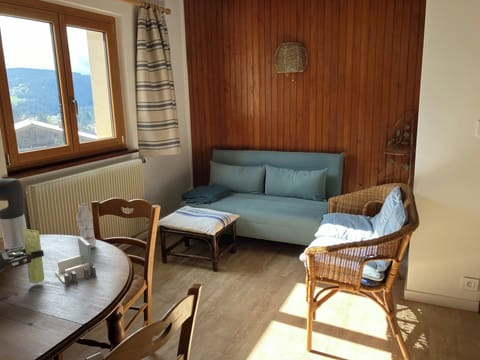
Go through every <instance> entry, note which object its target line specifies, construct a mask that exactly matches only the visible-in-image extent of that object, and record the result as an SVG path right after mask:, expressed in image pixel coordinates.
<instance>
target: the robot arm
mask: <svg viewBox="0 0 480 360" xmlns="http://www.w3.org/2000/svg"><path fill="white" fill-rule="evenodd" d="M23 189H24V188H23V185H22V182H21V181H20V180H19V179H18V178H0V202H5V201H6V202H7V206H6V207H4V208H2V209H0V228H1V229H0V230H1V235H2V239H3V247H4V252H2V251H1V249H0V272H3V271H5V266H11V268H13V269H14V268H17V267H21V266H24V265H27V263H30V262H31V260H32V259H34V258H38V257H42V258H43V257H44V255H45V253H44V250H43V249H41V250H39V251H35V252H31V253H26V250H25V242H24V233H23V228H25V229H28V228H27V221H26V217H25V212H24V211H25V199H24V190H23ZM26 258H27V259H26Z"/></svg>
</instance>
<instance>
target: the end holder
mask: <svg viewBox="0 0 480 360" xmlns="http://www.w3.org/2000/svg"><path fill="white" fill-rule="evenodd" d="M77 242H78V243H77V244H78V251H79V255H75V256H72V257H69V258H65V259H64V258H63V259H62V260H57V268H58V270H56V271H54V274H55V275H56V276H57V277H58V279H59V280H60V281H61V282H62V284H63V285H64V284H65V281H64V274H65V273H67V274H68V276H69V281H71V280H72V275H71V272H72V271H74V272H75V273H76V277H77V280H78V279H82V278H85V277H84V270H83V268H85V267H86V268H87V269H88V271H89V275H90V274H91V267H90V266H92V265H93V266H94V264H93V262H94V261H93V255H92V248H91V246H90V244H89V243H88V242H87V241H86V240H84V239H83V238H82V237H81V236H77Z"/></svg>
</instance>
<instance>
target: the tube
mask: <svg viewBox="0 0 480 360" xmlns="http://www.w3.org/2000/svg"><path fill="white" fill-rule="evenodd" d="M23 233H24V242H25V250H26V253H31V252H35V251H39V250H42V247H41V246H42V245H41V239H40V238H41V237H40V231H39V230H35V229H28V228H27V229H25V228H23ZM25 259H27V258H25ZM26 267H27V274H28V282H29V283H30V284H39V283H42V282H43V281H44V280H45V272H44V263H43V256H42V257H38V258H34V259H32V260H31V262H30V263H27V264H26Z"/></svg>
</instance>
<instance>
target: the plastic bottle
mask: <svg viewBox="0 0 480 360" xmlns="http://www.w3.org/2000/svg"><path fill="white" fill-rule="evenodd" d="M78 210H79V211H78V212H77V214H76V221H77V224H78V228H79V235H80V236H81V237H82V238H83V239H84V240H86V241H87V242H88V243H89V244H90V246H91V249H93V248H95V247H96V244H97V240H96V238H95V233H94V229H93V227H94V225H93V213H92V212H91V211H90V210H89V205H88V203H80V204H78ZM80 236H79V237H80Z"/></svg>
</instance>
